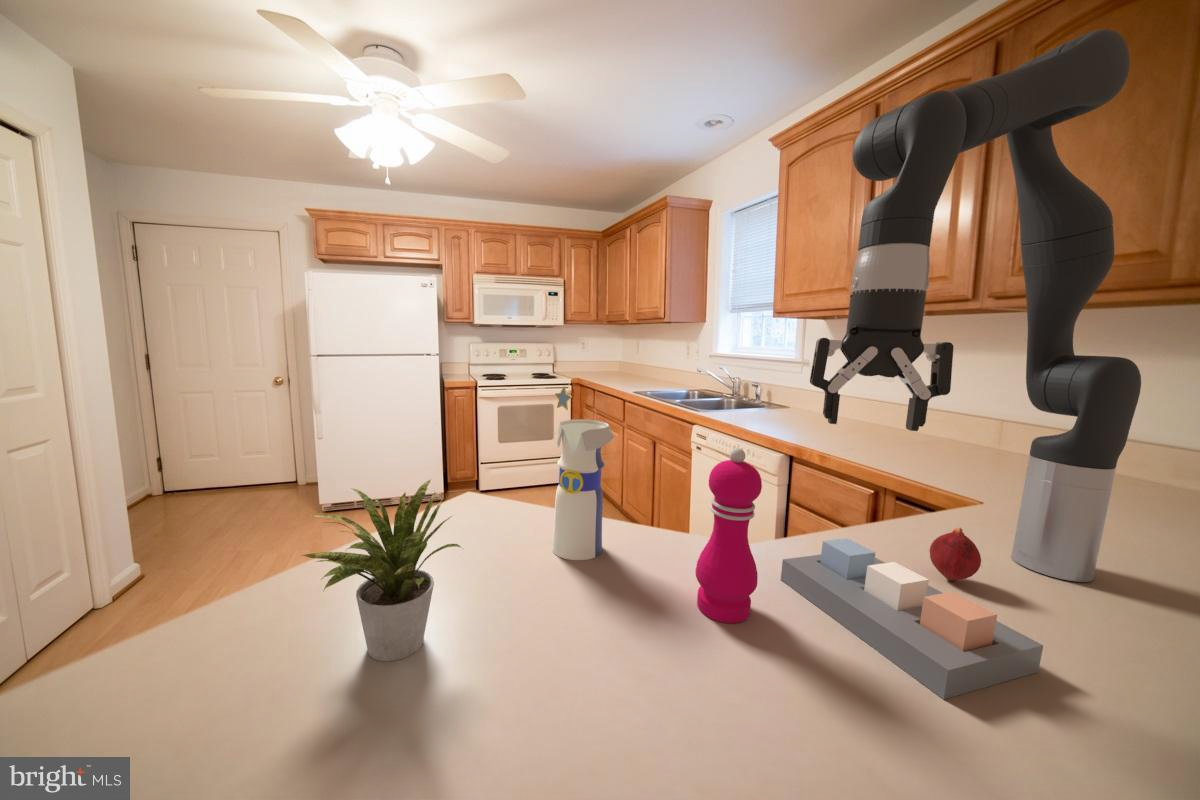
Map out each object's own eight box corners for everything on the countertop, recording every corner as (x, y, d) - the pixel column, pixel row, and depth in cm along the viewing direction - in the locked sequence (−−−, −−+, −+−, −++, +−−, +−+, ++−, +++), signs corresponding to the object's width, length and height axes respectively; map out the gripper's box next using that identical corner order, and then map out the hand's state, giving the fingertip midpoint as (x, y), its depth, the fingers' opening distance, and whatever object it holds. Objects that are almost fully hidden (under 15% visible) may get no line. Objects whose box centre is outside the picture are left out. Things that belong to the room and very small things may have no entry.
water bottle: (594, 567, 64) (604, 390, 61) (540, 554, 67) (546, 385, 63) (613, 544, 71) (622, 386, 68) (563, 533, 74) (570, 381, 71)
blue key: (844, 565, 64) (847, 538, 64) (871, 581, 60) (875, 552, 59) (819, 568, 63) (822, 541, 62) (845, 585, 59) (849, 555, 58)
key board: (857, 568, 68) (859, 549, 67) (1038, 671, 47) (1043, 645, 47) (780, 579, 63) (782, 559, 63) (943, 699, 42) (948, 670, 42)
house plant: (358, 596, 54) (356, 462, 52) (477, 598, 55) (480, 466, 53) (282, 687, 40) (275, 507, 38) (443, 688, 41) (445, 512, 38)
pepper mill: (754, 599, 58) (770, 445, 55) (753, 633, 51) (772, 459, 48) (696, 587, 60) (709, 438, 57) (688, 617, 53) (703, 450, 51)
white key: (889, 591, 58) (893, 561, 57) (923, 611, 53) (928, 579, 53) (863, 596, 56) (867, 565, 56) (896, 617, 52) (901, 584, 52)
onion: (986, 594, 62) (995, 538, 61) (938, 587, 63) (947, 533, 62) (961, 573, 68) (970, 522, 67) (918, 568, 69) (926, 517, 68)
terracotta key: (946, 624, 51) (952, 591, 50) (990, 650, 47) (997, 614, 46) (918, 630, 50) (923, 596, 49) (961, 658, 45) (967, 620, 45)
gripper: (946, 294, 54) (927, 427, 56) (816, 292, 59) (803, 416, 61) (976, 286, 47) (953, 438, 49) (825, 285, 52) (810, 425, 54)
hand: (870, 426), depth 55 cm, fingers open, 8 cm apart
